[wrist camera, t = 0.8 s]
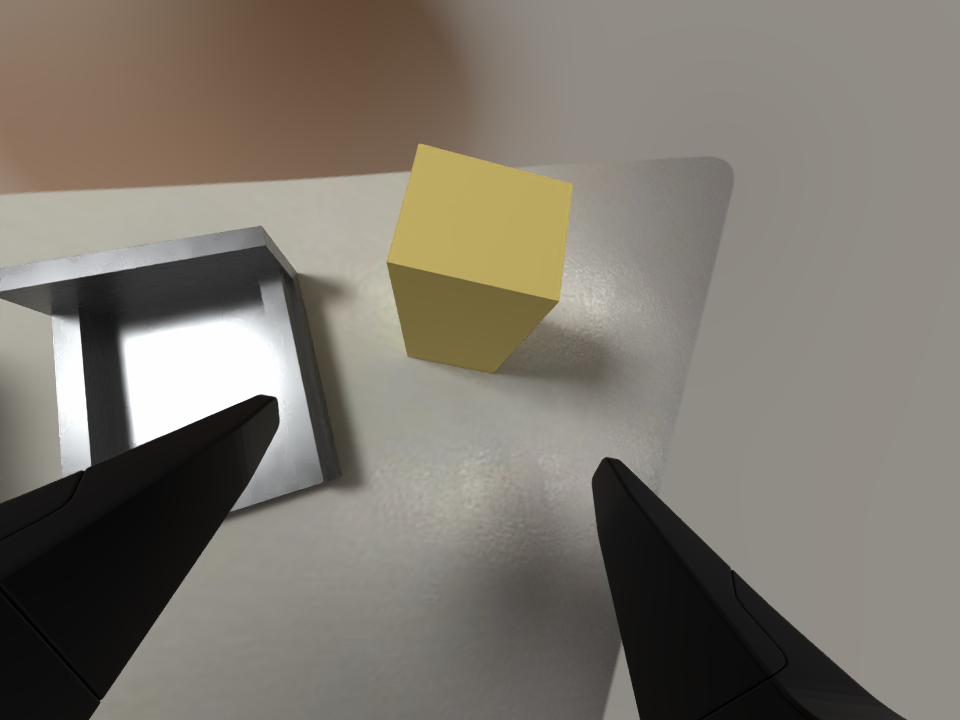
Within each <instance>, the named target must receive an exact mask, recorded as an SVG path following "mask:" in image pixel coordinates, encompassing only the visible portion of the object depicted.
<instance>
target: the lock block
mask: <svg viewBox="0 0 960 720" xmlns="http://www.w3.org/2000/svg"><path fill="white" fill-rule="evenodd" d="M572 190H573V184H571V183H567V182H563V181H560V180H556V179H552V178H548V177H545V176H541V175H537V174H533V173H529V172H526V171H522V170H518V169H514V168H510V167H506V166H503V165H499V164H495V163H491V162H487V161H484V160H480V159H476V158H472V157H469V156H465V155H461V154H457V153H454V152H450V151H446V150H442V149H438V148H435V147H430V146H427V145H423V144H419V146H418V149H417V153H416V157H415V160H414V164H413V167H412V171H411V175H410V178H409V182H408V186H407V189H406V193H405V197H404V200H403V204H402V208H401V211H400V215H399V219H398V222H397V226H396V230H395V233H394V237H393V240H392V244H391V248H390V251H389V255H388V259H387V266H388V270H389V275H390V279H391V284H392V288H393V293H394V297H395V302H396V306H397V311H398V315H399V320H400V324H401V329H402V333H403V338H404V342H405V347H406V351H407V356H408V357H413V358H418V359H423V360H428V361H433V362H438V363H443V364H448V365H453V366H458V367H463V368H468V369H473V370H478V371H483V372H488V373H494V372H495V371H496V370H497V369H498V368H499V367H500V366H501V365H502V364H503V362H504V361H505V360H506V359H507V358H508V357H509V356H510V355H511V354H512V353H513V351H514V350H515V349H516V348H517V347H518V346H519V345H520V344H521V343H522V342H523V340H524V339H525V338H526V337H527V336H528V335H529V334H530V333H531V332H532V331H533V329H534V328H535V327H536V326H537V325H538V324H539V323H540V322H541V321H542V320H543V318H544V317H545V316H546V315H547V314H548V313H549V312H550V311H551V310H552V309H553V307H554V306H555V305H556V304H557V303H558V302H559V299H560V291H561V282H562V274H563V266H564V257H565V249H566V240H567V232H568V223H569V215H570V206H571V198H572Z"/></svg>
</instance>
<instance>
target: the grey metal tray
mask: <svg viewBox="0 0 960 720" xmlns="http://www.w3.org/2000/svg"><path fill="white" fill-rule="evenodd" d="M0 298H1V299H4V300H7V301H9V302H12V303H15V304H18V305H21V306H24V307H27V308H30V309H33V310H36V311H38V312H41V313H44V314H47V315H50V316H52V329H53V344H54V359H55V374H56V389H57V404H58V419H59V434H60V449H61V464H62V478H64V477H66V476H69V475H71V474H73V473H76V472H78V471H80V470H84V471H85V470H86V468H88V467H90V466H92V465H95V464H97V463H99V462H102V461H104V460H106V459H109V458H111V457H113V456H116V455H118V454H120V453H123V452H125V451H127V450H130V449H132V448H134V447H137V446H139V445H141V444H144V443H146V442H148V441H151V440H153V439H155V438H158V437H160V436H162V435H165V434H167V433H169V432H172V431H174V430H176V429H179V428H181V427H183V426H186V425H188V424H190V423H193V422H195V421H197V420H200V419H202V418H204V417H207V416H209V415H211V414H214V413H216V412H218V411H221V410H223V409H225V408H228V407H230V406H232V405H235V404H237V403H239V402H242V401H244V400H246V399H249V398H251V397H253V396H256V395H259V394H264V395H269V396H274V397H276V398H277V399H278V405H279V417H280V424H279V427H278V430H277V432H276V434H275V436H274V438H273V439H272V441H271V443H270V445H269V447H268V449H267V451H266V453H265V455H264V456H263V458H262V460H261V462H260V464H259V466H258V468H257V470H256V472H255V473H254V475H253V477H252V479H251V481H250V482H249V484H248V485H247V487H246V488H245V490H244V492H243V493H242V494H241V496H240V497H239V499H238V500H237V502H236V503H235V505H234V506H233V508H232V509H231V511H234V510H237V509H240V508H244V507H247V506H250V505H253V504H256V503H259V502H262V501H266V500H269V499H272V498H275V497H278V496H281V495H284V494H288V493H291V492H294V491H297V490H301V489H304V488H307V487H310V486H314V485H317V484H320V483H323V482H326V481H329V480H332V479H335V478H338V477H341V472H340V467H339V462H338V458H337V453H336V449H335V444H334V440H333V435H332V431H331V426H330V422H329V417H328V412H327V408H326V403H325V399H324V394H323V390H322V385H321V381H320V376H319V372H318V367H317V362H316V358H315V353H314V349H313V344H312V340H311V335H310V331H309V326H308V322H307V317H306V313H305V308H304V303H303V299H302V294H301V290H300V285H299V281H298V276H297V272H296V271H295V269H294V268H293V267H292V265H291V264H290V263H289V262H288V260H287V259H286V258H285V256H284V255H283V254H282V252H281V251H280V250H279V248H278V247H277V246H276V244H275V243H274V242H273V240H272V239H271V238H270V236H269V235H268V234H267V232H266V231H265V230H264V228H263V227H262V226H257V227H251V228H245V229H239V230H233V231H226V232H220V233H214V234H208V235H202V236H196V237H190V238H183V239H177V240H171V241H165V242H159V243H153V244H147V245H140V246H134V247H128V248H122V249H116V250H110V251H104V252H97V253H91V254H85V255H79V256H73V257H67V258H61V259H54V260H48V261H42V262H36V263H30V264H24V265H18V266H11V267H5V268H0ZM231 511H230V512H231Z"/></svg>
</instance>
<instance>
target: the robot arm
mask: <svg viewBox="0 0 960 720" xmlns="http://www.w3.org/2000/svg"><path fill="white" fill-rule="evenodd" d="M279 424H280V417H279V405H278V399H277V398H276V397H274V396H269V395H264V394H259V395H256V396H253V397H251V398H249V399H246V400H244V401H242V402H239V403H237V404H235V405H232V406H230V407H228V408H225V409H223V410H221V411H218V412H216V413H214V414H211V415H209V416H207V417H204V418H202V419H200V420H197V421H195V422H193V423H190V424H188V425H186V426H183V427H181V428H179V429H176V430H174V431H172V432H169V433H167V434H165V435H162V436H160V437H158V438H155V439H153V440H151V441H148V442H146V443H144V444H141V445H139V446H137V447H134V448H132V449H130V450H127V451H125V452H123V453H120V454H118V455H116V456H113V457H111V458H109V459H106V460H104V461H102V462H99V463H97V464H95V465H92V466H90V467H88V468H86V470H85V471H84V470H80V471H78V472H76V473H73V474H71V475H69V476H66V477H64V478H62V479H59V480H57V481H55V482H52V483H50V484H47V485H45V486H42V487H40V488H38V489H35V490H33V491H30V492H28V493H25V494H23V495H21V496H18V497H16V498H13V499H11V500H8V501H5V502H3V503H0V720H89V719H90V718H91V716H92V715H93V713H94V712H95V710H96V709H97V707H98V706H99V704H100V700H102V699H103V698H104V696H105V695H106V693H107V692H108V691H109V689H110V688H111V686H112V685H113V683H114V682H115V680H116V679H117V677H118V676H119V674H120V673H121V671H122V670H123V668H124V667H125V665H126V664H127V663H128V661H129V660H130V658H131V657H132V655H133V654H134V652H135V651H136V649H137V648H138V646H139V645H140V643H141V642H142V640H143V639H144V637H145V636H146V635H147V633H148V632H149V630H150V629H151V627H152V626H153V624H154V623H155V621H156V620H157V618H158V617H159V615H160V614H161V612H162V611H163V609H164V608H165V606H166V605H167V604H168V602H169V601H170V599H171V598H172V596H173V595H174V593H175V592H176V590H177V589H178V587H179V586H180V584H181V583H182V581H183V580H184V578H185V577H186V576H187V574H188V573H189V571H190V570H191V568H192V567H193V565H194V564H195V562H196V561H197V559H198V558H199V556H200V555H201V553H202V552H203V550H204V549H205V548H206V546H207V545H208V543H209V542H210V540H211V539H212V537H213V536H214V534H215V533H216V531H217V530H218V528H219V527H220V525H221V524H222V522H223V521H224V520H225V518H226V517H227V515H228V514H229V512H230V511H231V509H232V508H233V506H234V505H235V503H236V502H237V500H238V499H239V497H240V496H241V494H242V493H243V492H244V490H245V488H246V487H247V485H248V484H249V482H250V481H251V479H252V477H253V475H254V473H255V472H256V470H257V468H258V466H259V464H260V462H261V460H262V458H263V456H264V455H265V453H266V451H267V449H268V447H269V445H270V443H271V441H272V439H273V438H274V436H275V434H276V432H277V430H278V427H279ZM592 490H593V499H594V507H595V515H596V523H597V531H598V537H599V542H600V547H601V551H602V555H603V560H604V564H605V568H606V573H607V577H608V582H609V586H610V590H611V595H612V599H613V603H614V608H615V612H616V617H617V621H618V625H619V630H620V634H621V638H622V643H623V647H624V651H625V656H626V660H627V664H628V669H629V673H630V678H631V682H632V686H633V690H634V695H635V699H636V704H637V708H638V712H639V717H640V720H906V719H905V718H903V717H901V716H900V715H898V714H897V713H895V712H893V711H892V710H891V709H889V708H888V707H887V706H885V705H884V704H883V703H881V702H880V701H879V700H877V699H876V698H874V697H873V696H872V695H871V694H870V693H869V692H867V691H866V690H865V689H864V688H863V687H862V686H860V685H859V684H858V683H857V682H856V681H855V680H854V679H852V678H851V677H850V676H849V675H848V674H847V673H846V672H844V671H843V670H842V669H841V668H840V667H839V666H838V665H837V664H835V663H834V662H833V661H832V660H831V659H830V658H829V657H827V656H826V655H825V654H824V653H823V652H822V651H821V650H819V649H818V648H817V647H816V646H815V645H814V644H813V643H812V642H810V641H809V640H808V639H807V638H806V637H805V636H804V635H803V634H801V633H800V632H799V631H798V630H797V629H796V628H795V627H793V626H792V625H791V624H790V623H789V622H788V621H787V620H786V619H785V618H784V617H782V616H781V615H780V614H779V613H778V612H777V611H776V610H775V609H774V608H772V607H771V606H770V605H769V604H768V603H767V602H766V601H765V600H764V599H763V598H762V597H761V596H760V595H759V594H757V592H755V591H754V590H753V589H752V588H751V587H750V586H749V585H748V584H747V583H746V582H745V581H744V580H743V579H742V578H741V577H740V576H739V575H738V574H737V573H736V572H735V571H734V570H731V568H730V566H728V565H727V564H726V563H725V562H724V561H723V560H722V559H721V558H720V557H719V556H718V555H717V554H716V553H715V552H714V551H713V550H712V549H711V548H710V547H709V546H708V545H707V544H706V543H705V542H704V541H703V540H702V539H701V538H700V537H699V536H698V535H697V534H696V533H695V532H693V531H692V530H691V529H690V528H689V527H688V526H687V525H686V524H685V523H684V522H683V521H682V520H681V519H680V518H679V517H678V516H677V515H676V514H675V513H674V512H673V511H672V510H671V509H670V508H669V507H668V506H667V505H666V504H664V502H663V501H662V500H661V499H660V498H658V497H657V496H656V495H655V494H654V493H653V492H652V491H651V490H650V489H649V488H648V487H647V486H646V485H645V484H644V483H643V482H642V481H641V480H640V479H639V478H638V477H637V476H636V475H635V474H634V473H633V472H632V471H631V470H630V469H629V468H628V467H627V466H626V465H624V464H623V463H622V462H621V461H620V460H618V459H615V458H609V457H605V458H604V459H602V461H601V463H600V464H599V466H598V468H597V470H596V471H595V473H594V475H593V478H592Z"/></svg>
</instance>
